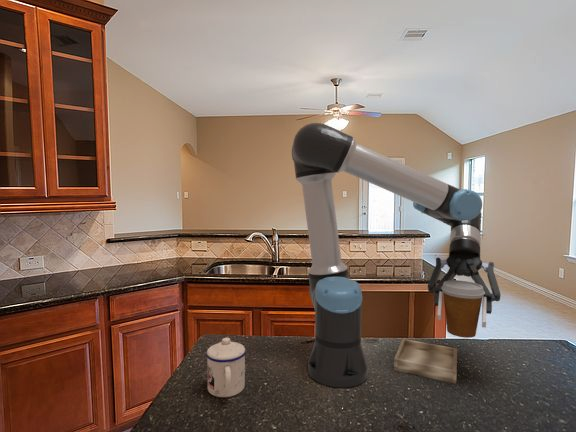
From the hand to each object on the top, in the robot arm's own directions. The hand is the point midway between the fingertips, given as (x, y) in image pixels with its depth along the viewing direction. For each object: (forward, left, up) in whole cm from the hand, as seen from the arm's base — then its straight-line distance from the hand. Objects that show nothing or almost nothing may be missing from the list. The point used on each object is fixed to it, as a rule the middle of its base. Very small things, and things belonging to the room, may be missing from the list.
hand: (461, 321), depth 81 cm
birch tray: (-8, +7, -16) cm, 19 cm away
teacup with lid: (-48, -28, -16) cm, 58 cm away
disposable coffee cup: (0, +3, -4) cm, 5 cm away
